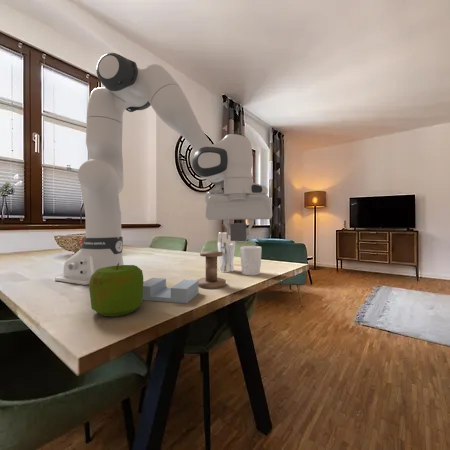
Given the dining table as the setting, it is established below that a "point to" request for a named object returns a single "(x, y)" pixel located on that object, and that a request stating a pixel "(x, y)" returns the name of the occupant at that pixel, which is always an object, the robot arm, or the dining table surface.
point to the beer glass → (226, 252)
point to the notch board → (169, 290)
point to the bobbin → (211, 271)
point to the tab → (238, 232)
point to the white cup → (250, 260)
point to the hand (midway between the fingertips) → (238, 234)
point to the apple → (116, 290)
